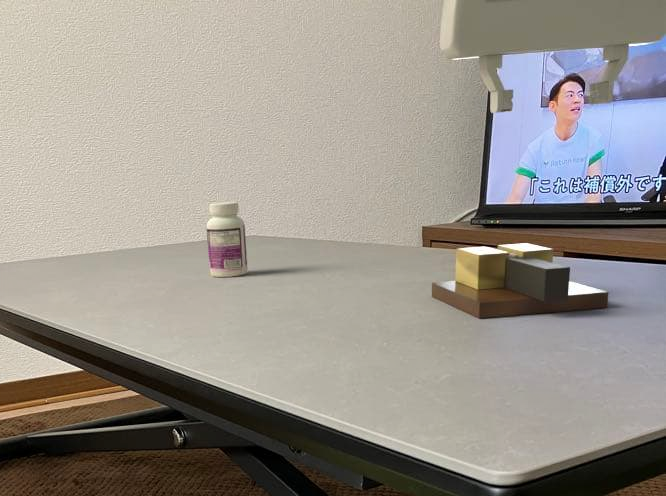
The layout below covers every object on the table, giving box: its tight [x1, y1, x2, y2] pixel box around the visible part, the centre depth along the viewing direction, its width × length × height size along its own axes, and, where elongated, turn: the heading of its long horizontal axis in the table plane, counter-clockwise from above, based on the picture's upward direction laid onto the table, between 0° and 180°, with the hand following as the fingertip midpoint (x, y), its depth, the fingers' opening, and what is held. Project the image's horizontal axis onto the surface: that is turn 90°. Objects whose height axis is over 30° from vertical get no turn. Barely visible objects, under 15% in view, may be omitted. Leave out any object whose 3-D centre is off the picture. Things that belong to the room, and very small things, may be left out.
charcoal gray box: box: [504, 253, 571, 302], centre depth 92 cm, size 18×2×3 cm, turn 7°
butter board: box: [431, 242, 610, 319], centre depth 93 cm, size 13×15×5 cm
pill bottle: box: [206, 201, 249, 278], centre depth 126 cm, size 5×5×10 cm
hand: (550, 108), depth 82 cm, fingers open, 8 cm apart
